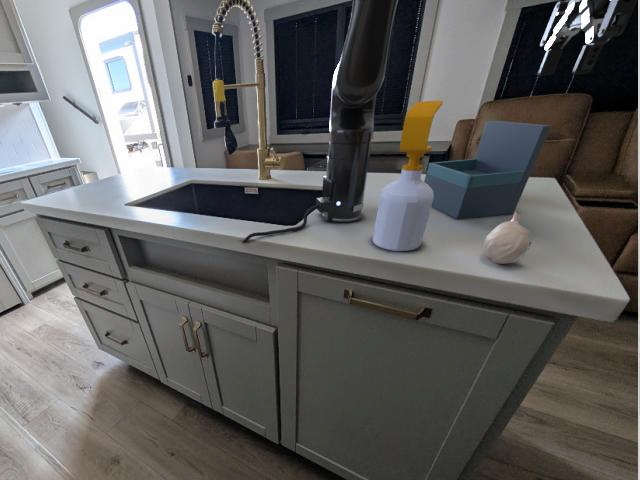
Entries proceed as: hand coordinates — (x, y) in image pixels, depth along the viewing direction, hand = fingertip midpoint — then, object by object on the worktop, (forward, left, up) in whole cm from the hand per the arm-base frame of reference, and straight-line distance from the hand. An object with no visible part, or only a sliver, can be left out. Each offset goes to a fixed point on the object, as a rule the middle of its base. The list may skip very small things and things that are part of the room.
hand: (561, 74), depth 53 cm
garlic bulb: (-13, -16, -27) cm, 34 cm away
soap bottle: (-26, -5, -27) cm, 37 cm away
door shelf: (-1, +12, -27) cm, 29 cm away
